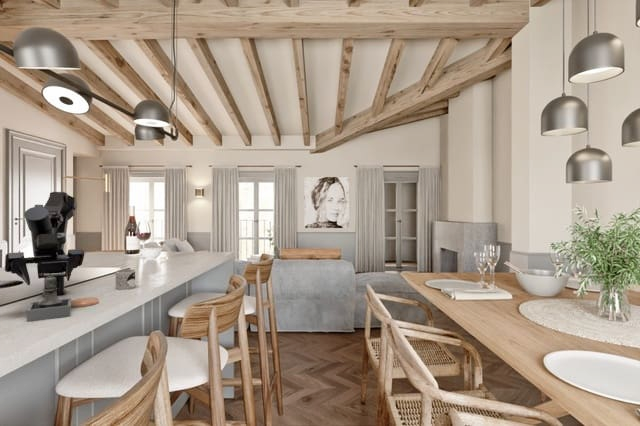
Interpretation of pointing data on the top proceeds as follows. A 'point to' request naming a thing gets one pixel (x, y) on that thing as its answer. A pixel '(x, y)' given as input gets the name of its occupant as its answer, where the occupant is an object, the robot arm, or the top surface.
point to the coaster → (84, 302)
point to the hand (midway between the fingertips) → (49, 282)
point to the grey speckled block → (125, 279)
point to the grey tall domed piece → (50, 293)
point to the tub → (48, 311)
